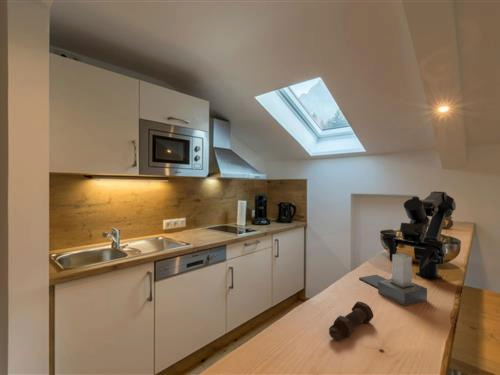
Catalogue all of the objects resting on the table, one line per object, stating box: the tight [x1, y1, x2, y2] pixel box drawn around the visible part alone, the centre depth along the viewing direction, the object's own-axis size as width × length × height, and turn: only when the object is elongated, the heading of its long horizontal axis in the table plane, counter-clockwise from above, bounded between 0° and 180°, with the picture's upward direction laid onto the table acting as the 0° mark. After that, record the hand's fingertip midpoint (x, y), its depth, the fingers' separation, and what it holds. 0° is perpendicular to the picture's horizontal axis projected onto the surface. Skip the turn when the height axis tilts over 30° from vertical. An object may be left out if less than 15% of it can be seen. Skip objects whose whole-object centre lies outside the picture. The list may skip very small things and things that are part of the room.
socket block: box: [377, 278, 428, 307], centre depth 84 cm, size 10×10×4 cm
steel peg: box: [391, 252, 413, 289], centre depth 84 cm, size 4×4×14 cm
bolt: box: [328, 301, 375, 341], centre depth 66 cm, size 6×5×15 cm
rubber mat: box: [358, 274, 388, 289], centre depth 96 cm, size 9×9×1 cm
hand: (405, 264), depth 86 cm, fingers open, 9 cm apart
